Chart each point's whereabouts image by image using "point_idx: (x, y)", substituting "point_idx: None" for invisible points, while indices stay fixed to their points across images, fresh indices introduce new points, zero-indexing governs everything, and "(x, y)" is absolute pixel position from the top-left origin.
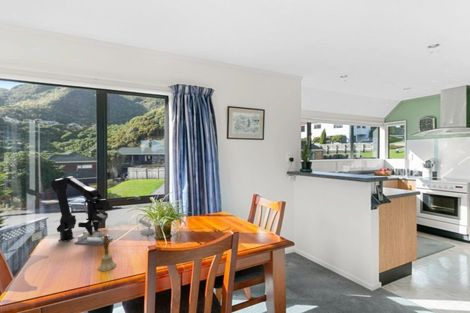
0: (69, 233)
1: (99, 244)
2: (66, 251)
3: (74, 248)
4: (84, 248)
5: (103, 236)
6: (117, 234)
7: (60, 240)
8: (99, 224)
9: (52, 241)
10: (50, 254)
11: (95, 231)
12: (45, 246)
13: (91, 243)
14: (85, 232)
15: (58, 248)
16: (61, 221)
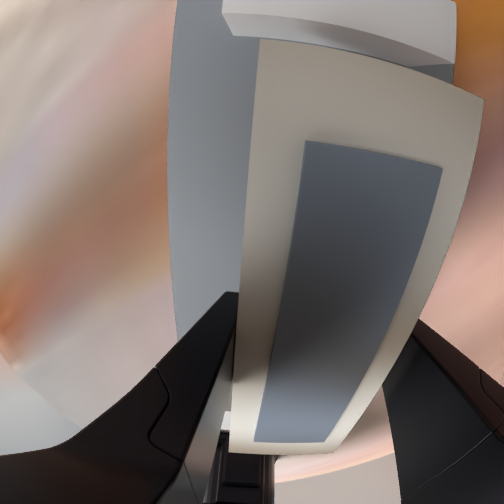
0: (259, 482)
1: (448, 73)
2: (499, 326)
3: (465, 314)
4: (495, 222)
5: (379, 32)
6: (2, 91)
7: (275, 459)
8: (88, 439)
9: (280, 469)
10: (499, 372)
11: (362, 307)
12: (358, 457)
13: None
14: (345, 428)
15: None
16: None
